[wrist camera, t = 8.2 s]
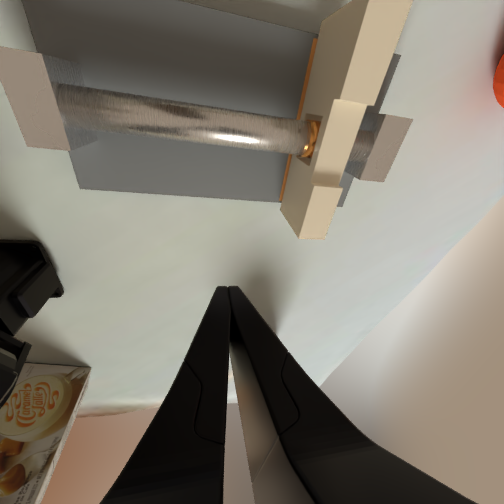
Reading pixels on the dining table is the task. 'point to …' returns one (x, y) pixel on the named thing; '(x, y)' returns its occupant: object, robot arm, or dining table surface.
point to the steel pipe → (169, 118)
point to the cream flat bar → (339, 105)
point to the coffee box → (37, 428)
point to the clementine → (499, 82)
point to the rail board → (183, 89)
